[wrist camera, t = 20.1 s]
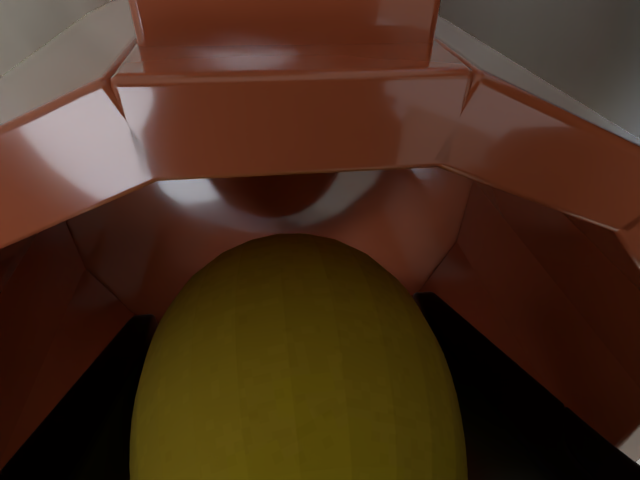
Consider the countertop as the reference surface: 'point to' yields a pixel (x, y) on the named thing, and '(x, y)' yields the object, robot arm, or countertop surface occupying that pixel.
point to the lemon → (295, 374)
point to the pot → (311, 185)
